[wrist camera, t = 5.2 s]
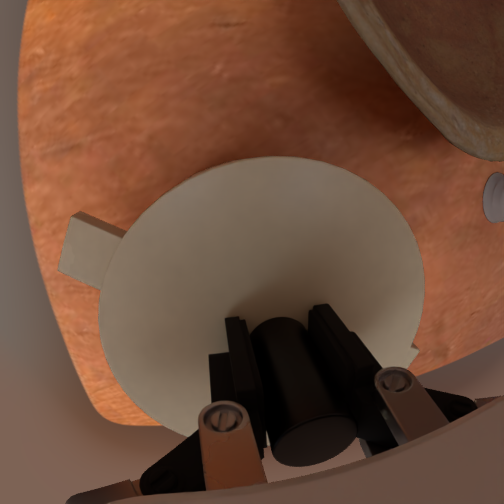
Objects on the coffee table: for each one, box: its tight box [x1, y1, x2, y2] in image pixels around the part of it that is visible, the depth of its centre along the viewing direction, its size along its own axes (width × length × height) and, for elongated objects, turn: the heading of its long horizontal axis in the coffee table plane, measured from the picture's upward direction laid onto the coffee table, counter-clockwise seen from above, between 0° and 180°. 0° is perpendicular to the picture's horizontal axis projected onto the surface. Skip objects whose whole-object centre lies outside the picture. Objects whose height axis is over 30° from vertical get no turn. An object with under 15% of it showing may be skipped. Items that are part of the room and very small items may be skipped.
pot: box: [58, 160, 420, 369], centre depth 17 cm, size 13×18×10 cm
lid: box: [98, 156, 425, 467], centre depth 10 cm, size 14×14×6 cm
